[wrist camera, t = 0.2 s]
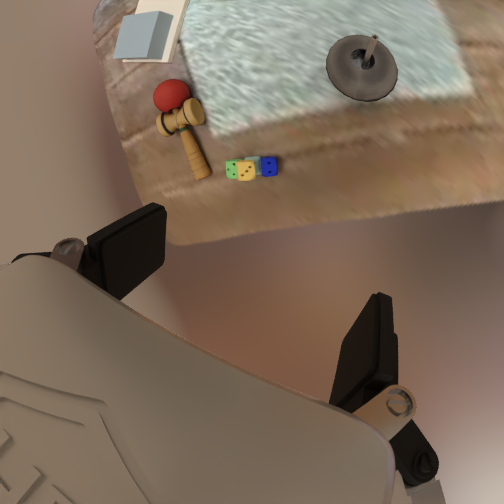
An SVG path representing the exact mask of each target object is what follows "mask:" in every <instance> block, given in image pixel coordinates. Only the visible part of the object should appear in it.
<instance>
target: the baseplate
mask: <svg viewBox="0 0 504 504" xmlns="http://www.w3.org/2000/svg"><path fill="white" fill-rule="evenodd" d="M189 1H190V0H139V3H138V6H137V9H136V12H135V14H133V15H128V16H124V17H123V20H122V24H121V27H120V31H119V35H118V39H117V43H116V47H115V52H114V56H113V59H123V62H161V63H172V61H173V57H174V53H175V49H176V45H177V41H178V37H179V34H180V30H181V27H182V23H183V20H184V17H185V13H186V10H187V7H188V4H189Z"/></svg>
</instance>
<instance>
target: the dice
mask: <svg viewBox="0 0 504 504" xmlns="http://www.w3.org/2000/svg"><path fill="white" fill-rule="evenodd" d="M225 164H226V174H227V178H229V179H236V178H238V180H240V181H247V180H253V179H255V178H256V175H258V174H261V173H262V176H265V177H270V176H276V175H277V174H278V171H277V160H276V157H262V158H261V157H260V156H252V157H246V158H245V159H244V160H242V159H231V160H227V161H226V162H225Z"/></svg>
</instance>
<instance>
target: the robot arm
mask: <svg viewBox="0 0 504 504" xmlns="http://www.w3.org/2000/svg"><path fill="white" fill-rule="evenodd" d="M166 220H167V212H166V210H165V208H164V206H162V205H159V204H157V203H154V202H152V203H150V204H148V205H146V206H144V207H142V208H140V209H138V210H136V211H134V212H132V213H130V214H128V215H126V216H124V217H123V218H121V219H119V220H117V221H115V222H113V223H111V224H110V225H108V226H106V227H104V228H103V229H101V230H99V231H97V232H96V233H94V234H92V235H90V236H88V237H87V243H88V244H87V245H85V246H84V242H83V241H81V239H78V238H67V239H64V240H62V241H60V242H58V243H57V244H56V245H55V247H54V249H53V251H52V252H42V253H27V254H20V255H18V256H17V257H16V258H15V259H14V260H13V261H12V262H11V264H9V263H7V264H4V265H1V266H0V504H446V503H445V498H444V495H443V491H442V487H441V484H440V481H439V480H435V475H436V474H437V471H438V466H439V461H438V457H437V455H436V453H435V451H434V450H433V448H432V447H431V445H430V444H429V442H428V441H427V440H426V438H425V437H424V435H423V434H422V432H421V431H420V430H419V428H418V427H417V425H416V424H415V423H414V421H413V420H412V417H413V416H414V414H415V412H416V402H415V399H414V397H413V395H412V393H411V392H410V391H409V390H407V388H405V387H403V386H400V385H398V337H397V334H395V333H394V325H393V307H392V298H391V297H390V296H388V295H386V294H383V293H381V292H378V293H377V294H372V295H371V297H370V299H369V300H368V302H367V304H366V305H365V307H364V308H363V310H362V311H361V313H360V315H359V316H358V318H357V319H356V321H355V323H354V324H353V326H352V327H351V329H350V330H349V332H348V333H347V335H346V336H345V338H344V340H343V342H342V345H341V350H340V355H339V360H338V365H337V370H336V375H335V379H334V384H333V388H332V392H331V396H330V400H329V403H326V402H324V401H321V400H319V399H316V398H313V397H311V396H308V395H306V394H303V393H301V392H298V391H296V390H293V389H291V388H288V387H286V386H283V385H281V384H279V383H276V382H274V381H272V380H269V379H266V378H264V377H262V376H260V375H258V374H255V373H253V372H251V371H249V370H246V369H244V368H242V367H240V366H238V365H235V364H233V363H231V362H229V361H227V360H225V359H223V358H221V357H219V356H217V355H215V354H213V353H211V352H209V351H207V350H205V349H203V348H201V347H199V346H197V345H195V344H193V343H191V342H189V341H188V340H186V339H184V338H182V337H180V336H178V335H177V334H175V333H173V332H171V331H169V330H167V329H166V328H164V327H162V326H161V325H159V324H157V323H155V322H154V321H152V320H150V319H148V318H147V317H145V316H143V315H142V314H140V313H139V312H137V311H135V310H134V309H132V308H130V307H129V306H127V305H125V304H124V303H122V302H121V301H120V300H121V299H123V298H124V297H125V296H126V295H127V294H128V293H130V292H131V291H132V290H133V289H134V288H136V287H137V286H138V285H139V284H140V283H142V282H143V281H144V280H145V279H146V278H148V277H149V276H150V275H151V274H152V273H154V272H155V271H156V270H157V269H158V268H160V267H161V266H162V265H163V263H164V260H165V237H166Z"/></svg>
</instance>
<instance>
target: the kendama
mask: <svg viewBox="0 0 504 504" xmlns="http://www.w3.org/2000/svg"><path fill="white" fill-rule="evenodd" d="M189 97H190V93H189V89H188V87H187V85H186V84H185V83H184V82H182V81H180V80H177V79H170V80H166V81H164V82H162V83H161V84H159V85H158V86H157V88H156V89H155V92H154V95H153V100H154V104H155V106H156V107H157V108H158V109H159V110H160V111H162V113H161V114H159V115H158V116H157V118H156V124H157V128H158V130H159V132H160V133H161V134H162V135H163V136H165V137H169V136H172V135H173V134H174V133H175V131H176V129H177V128H179V131H180V135H181V139H182V143H183V146H184V149H185V152H186V155H187V158H188V161H189V164H190V166H191V169H192V171H193V176H194V179H195V180H200V179H202V178H205V177H207V176H208V175H210V174H211V171H210V169H209V167H208V165H207V163H206V161H205V159H204V157H203V156H202V153H201V151H200V149H199V147H198V145H197V143H196V141H195V139H194V137H193V135H192V134H191V132H190V130H189V129H188V127H187V125H186V124H191V125H193V126H198V125H201V124H203V123H204V112H203V109H202V107H201V105H200V103H199V102H198V101H197V100H196V99H195V98H190V99H189Z"/></svg>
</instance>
